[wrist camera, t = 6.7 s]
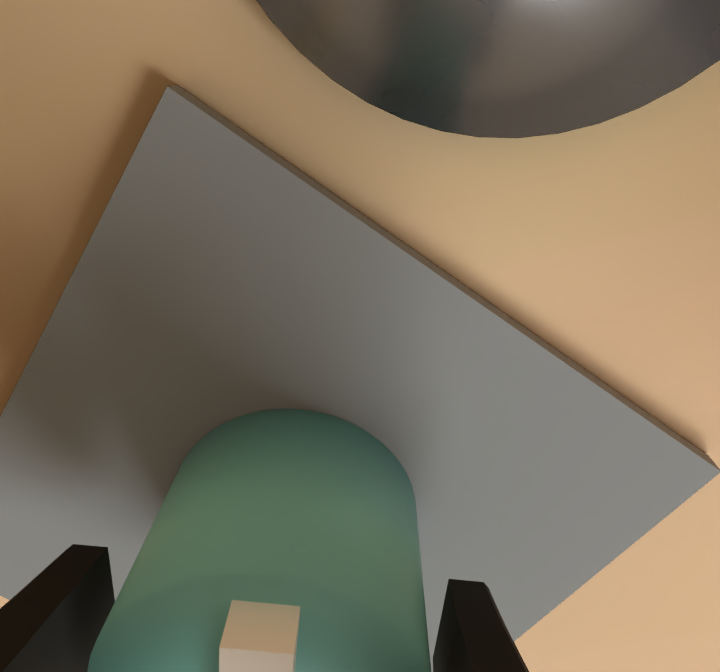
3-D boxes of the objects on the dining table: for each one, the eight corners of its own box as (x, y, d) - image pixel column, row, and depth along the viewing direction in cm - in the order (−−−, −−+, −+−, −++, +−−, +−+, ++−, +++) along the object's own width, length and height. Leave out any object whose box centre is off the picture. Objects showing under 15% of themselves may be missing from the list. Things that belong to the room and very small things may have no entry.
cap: (399, 610, 13) (410, 867, 9) (176, 589, 13) (81, 839, 9) (434, 422, 11) (469, 641, 7) (169, 396, 11) (42, 602, 7)
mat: (708, 455, 12) (721, 471, 11) (365, 743, 16) (364, 763, 16) (177, 84, 9) (166, 86, 9) (-59, 545, 14) (-73, 561, 13)
